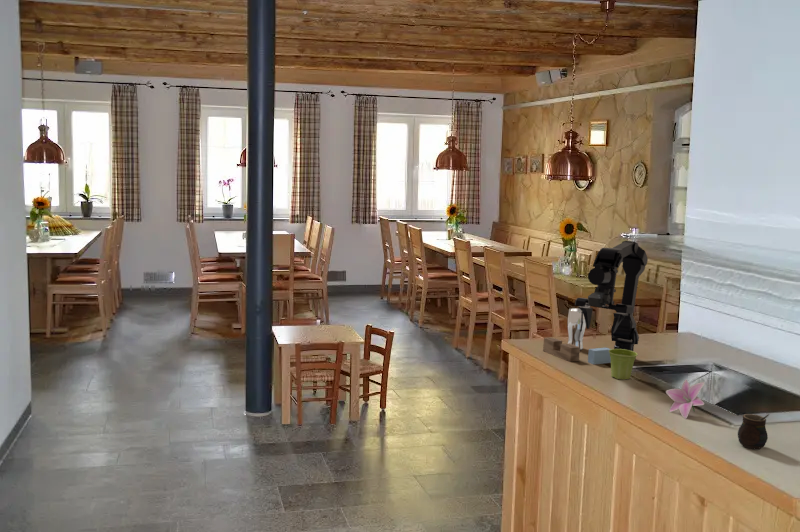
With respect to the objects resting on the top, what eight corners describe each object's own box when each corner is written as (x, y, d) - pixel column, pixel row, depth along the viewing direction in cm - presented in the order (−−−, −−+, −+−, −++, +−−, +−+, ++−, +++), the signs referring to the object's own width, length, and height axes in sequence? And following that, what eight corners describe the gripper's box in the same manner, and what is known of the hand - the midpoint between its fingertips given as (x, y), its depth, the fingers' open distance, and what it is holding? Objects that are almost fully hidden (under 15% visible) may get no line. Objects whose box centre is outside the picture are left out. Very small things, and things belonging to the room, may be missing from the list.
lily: (663, 408, 243) (657, 383, 239) (700, 395, 242) (695, 370, 238) (679, 433, 233) (673, 408, 228) (718, 419, 232) (713, 394, 227)
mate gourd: (744, 439, 215) (748, 403, 214) (772, 448, 210) (777, 411, 208) (731, 445, 211) (735, 408, 209) (759, 454, 205) (763, 416, 204)
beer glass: (587, 349, 308) (590, 311, 306) (572, 350, 305) (575, 311, 303) (577, 345, 314) (580, 307, 312) (562, 346, 311) (565, 308, 309)
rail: (551, 350, 305) (552, 337, 304) (578, 360, 291) (579, 347, 290) (542, 350, 303) (543, 337, 302) (569, 361, 289) (571, 348, 288)
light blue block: (605, 360, 293) (606, 347, 292) (610, 363, 290) (611, 349, 289) (587, 362, 289) (588, 348, 289) (593, 364, 287) (594, 351, 286)
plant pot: (635, 375, 274) (637, 350, 273) (635, 382, 265) (637, 357, 264) (606, 372, 277) (609, 347, 276) (606, 379, 268) (608, 353, 267)
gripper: (570, 281, 274) (564, 326, 274) (622, 288, 262) (616, 336, 263) (585, 282, 282) (579, 326, 283) (636, 289, 271) (629, 335, 271)
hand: (600, 330), depth 275 cm, fingers open, 9 cm apart
